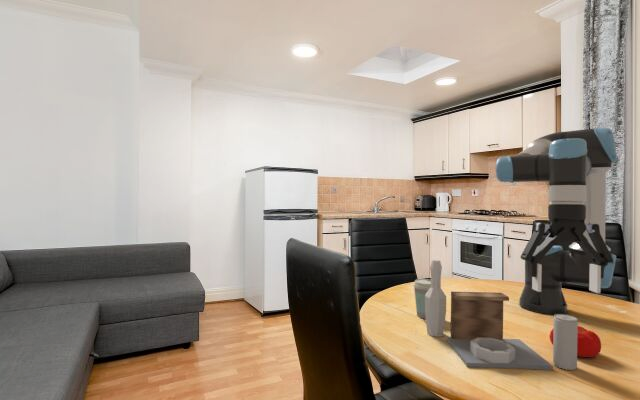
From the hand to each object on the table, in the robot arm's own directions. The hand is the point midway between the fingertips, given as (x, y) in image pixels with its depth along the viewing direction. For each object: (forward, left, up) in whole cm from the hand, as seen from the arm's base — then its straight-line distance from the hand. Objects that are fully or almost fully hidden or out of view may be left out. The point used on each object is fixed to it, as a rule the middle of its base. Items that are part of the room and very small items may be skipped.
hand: (565, 291), depth 87 cm
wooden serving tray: (+16, -12, -18) cm, 27 cm away
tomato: (-8, -9, -19) cm, 22 cm away
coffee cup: (+25, -35, -19) cm, 47 cm away
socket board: (+14, -6, -18) cm, 24 cm away
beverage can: (0, 0, -19) cm, 19 cm away
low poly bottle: (+26, -19, -19) cm, 37 cm away
